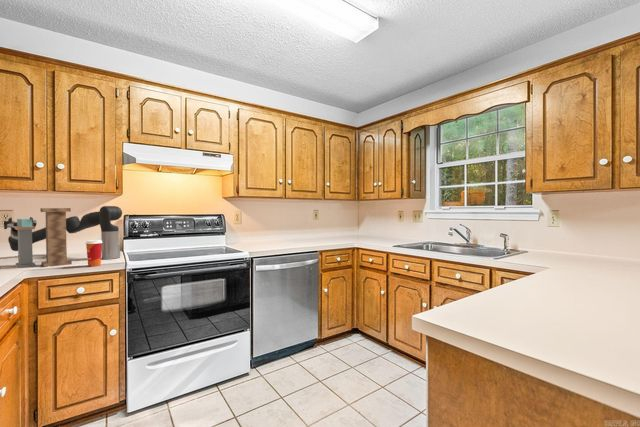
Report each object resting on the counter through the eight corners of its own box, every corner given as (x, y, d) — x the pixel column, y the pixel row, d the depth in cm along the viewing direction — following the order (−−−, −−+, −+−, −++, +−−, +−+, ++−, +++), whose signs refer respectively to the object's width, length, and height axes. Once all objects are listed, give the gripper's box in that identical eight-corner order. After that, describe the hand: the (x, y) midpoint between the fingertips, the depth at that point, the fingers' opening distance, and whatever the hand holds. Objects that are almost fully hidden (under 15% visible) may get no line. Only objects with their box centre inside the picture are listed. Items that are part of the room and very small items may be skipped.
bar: (26, 225, 185) (26, 218, 185) (32, 226, 169) (32, 219, 169) (17, 225, 182) (16, 218, 182) (22, 227, 166) (21, 219, 166)
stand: (68, 262, 185) (67, 208, 184) (71, 264, 180) (70, 208, 179) (41, 265, 176) (40, 208, 175) (43, 267, 171) (42, 208, 170)
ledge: (32, 263, 182) (31, 225, 182) (35, 266, 174) (34, 226, 174) (15, 265, 177) (14, 226, 176) (18, 267, 169) (17, 227, 168)
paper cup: (88, 265, 176) (87, 240, 176) (104, 264, 179) (104, 239, 178) (83, 267, 169) (83, 241, 168) (100, 266, 171) (100, 240, 171)
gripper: (2, 226, 191) (3, 213, 181) (33, 225, 201) (36, 212, 192) (3, 237, 188) (4, 224, 179) (34, 235, 199) (37, 223, 189)
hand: (21, 218), depth 185 cm, fingers open, 8 cm apart
